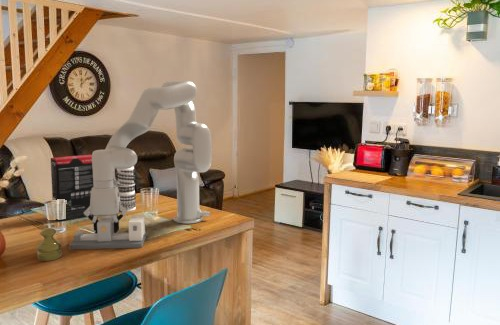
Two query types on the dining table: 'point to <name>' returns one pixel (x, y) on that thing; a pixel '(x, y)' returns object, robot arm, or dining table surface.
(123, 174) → the striped tall cylinder
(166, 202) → the dining table surface
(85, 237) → the rail board
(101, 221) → the grey module
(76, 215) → the graphics card box
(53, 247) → the olive green chess pawn
